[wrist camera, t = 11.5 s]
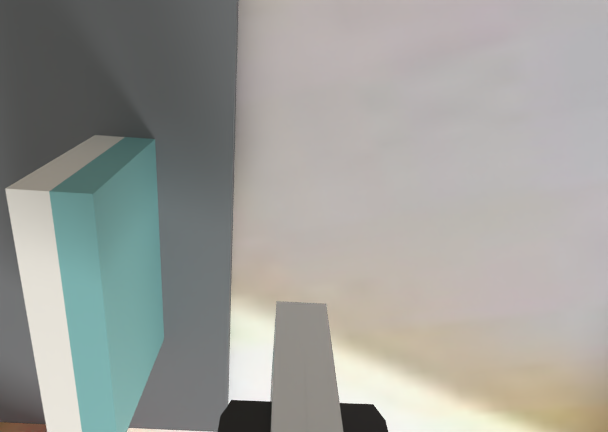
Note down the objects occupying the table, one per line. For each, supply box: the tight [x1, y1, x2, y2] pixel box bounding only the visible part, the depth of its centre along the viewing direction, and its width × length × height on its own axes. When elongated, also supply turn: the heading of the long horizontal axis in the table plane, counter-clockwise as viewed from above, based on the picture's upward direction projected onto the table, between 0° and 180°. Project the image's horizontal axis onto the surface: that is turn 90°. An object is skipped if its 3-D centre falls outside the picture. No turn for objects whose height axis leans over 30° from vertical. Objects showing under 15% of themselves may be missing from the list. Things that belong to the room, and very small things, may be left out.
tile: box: [5, 135, 164, 432], centre depth 17 cm, size 9×2×6 cm, turn 176°
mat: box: [0, 0, 238, 432], centre depth 20 cm, size 20×14×1 cm
